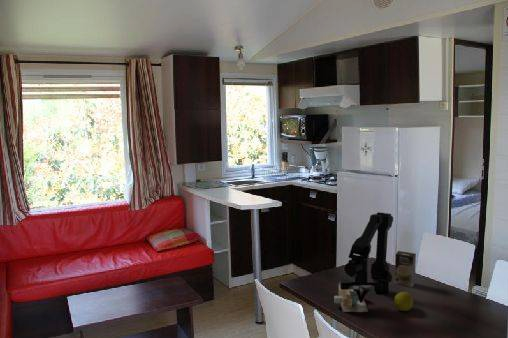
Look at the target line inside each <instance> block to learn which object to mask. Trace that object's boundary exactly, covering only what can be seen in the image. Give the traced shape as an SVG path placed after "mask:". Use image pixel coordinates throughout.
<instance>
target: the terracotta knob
mask: <svg viewBox="0 0 508 338" xmlns="http://www.w3.org/2000/svg"><path fill="white" fill-rule="evenodd" d="M359 289H360V293H361V287H359ZM349 292H350V295H351V294H352V295H356V296H357V297H358V295H357V293H356V291H353V288H349Z"/></svg>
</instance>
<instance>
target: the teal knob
mask: <svg viewBox="0 0 508 338" xmlns="http://www.w3.org/2000/svg"><path fill="white" fill-rule="evenodd" d="M351 298H352V305H357V297H356V295H352V294H351ZM333 300H334V301H333V302H334V304H341V303H342V296H339V295H334V297H333Z"/></svg>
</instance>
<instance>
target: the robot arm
mask: <svg viewBox="0 0 508 338" xmlns="http://www.w3.org/2000/svg"><path fill="white" fill-rule="evenodd" d="M393 222H394V217H393V216H392V213H389V212H388V213H387V212H380V211H379V212H376V213H374V214H370V215H369V221H367V224H366V226H365V228H364V230H363V232H362V234H361V236H360V237H358V238H356V239H355V241H353V244H352V245H351V248H350V252H349V253H348V259H349V260H348V262H347V263H345V265H344V267H343V268H344V272H345V274H346V275H348V277H349V278H352V279H353V281H349V279H347V278H345V279H344V278H343V279H340V280H339V283H338V286H339V285H340V288H341V289H342V290H348V289H353V291H356V293H357V295H358V298H359V301H360V303H362V301H363V299H364V300H365V297H366V295H367V294H368V292H370V291H371V290H370V288H372V287H373V288H372V289H373V291H374V293H375V294H376V295H390V292H389V291H390V289H389V287H390V286H389V283H392V280H393V275H392V273H391V272H390V266H389V264H388V262H387V250H388V237H389V235H388V233H389V230H390V229H391V228H392V225H393ZM376 232H377V235H376ZM375 235H376V236H377V237H376V249H375V251H376V252H375V260H374V262H373V263H371V266H370V267H371V268H370V276H371V279H372V280H371V281H368V259H369V258H370V256H369V255H370V254H371V251H372V244H371V243H372V240H373V238H374V236H375ZM350 287H351V288H350ZM359 288H361V293H360V289H359Z"/></svg>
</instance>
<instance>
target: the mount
mask: <svg viewBox="0 0 508 338" xmlns="http://www.w3.org/2000/svg"><path fill="white" fill-rule="evenodd" d="M349 289H350V288H349ZM349 289H348V290H342V289H341V288H340V285H339V284H338V296H342V303H340V305H341V309H342V312H344V313H345V312H347V313H349V312H351V313H354V312H355V313H364V312H365V313H367V312H369V309H368V307H367V304H366V302H365V298H364V299H363V301H362V303H360V301H359V298H358V297H357V296H356V297H357V305H352V298H351V295H350V292H349Z"/></svg>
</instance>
